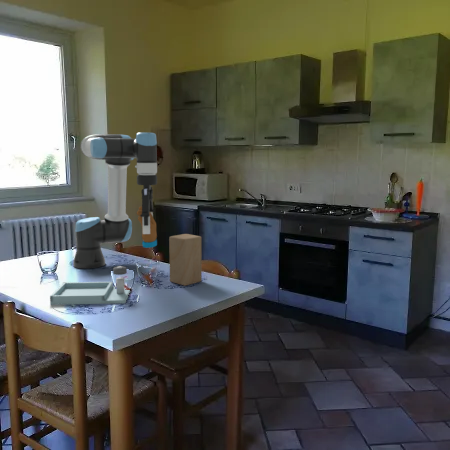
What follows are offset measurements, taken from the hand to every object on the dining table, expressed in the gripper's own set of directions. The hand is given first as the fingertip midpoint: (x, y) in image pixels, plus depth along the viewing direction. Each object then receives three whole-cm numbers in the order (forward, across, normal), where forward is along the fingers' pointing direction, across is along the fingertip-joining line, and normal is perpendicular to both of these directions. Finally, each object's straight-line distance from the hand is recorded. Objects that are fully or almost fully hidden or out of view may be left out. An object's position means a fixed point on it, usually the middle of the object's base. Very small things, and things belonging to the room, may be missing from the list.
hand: (148, 231), depth 174 cm
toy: (+6, 0, 0) cm, 6 cm away
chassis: (+25, +1, -21) cm, 33 cm away
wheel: (+16, +1, -11) cm, 20 cm away
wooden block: (+26, -18, +14) cm, 34 cm away
